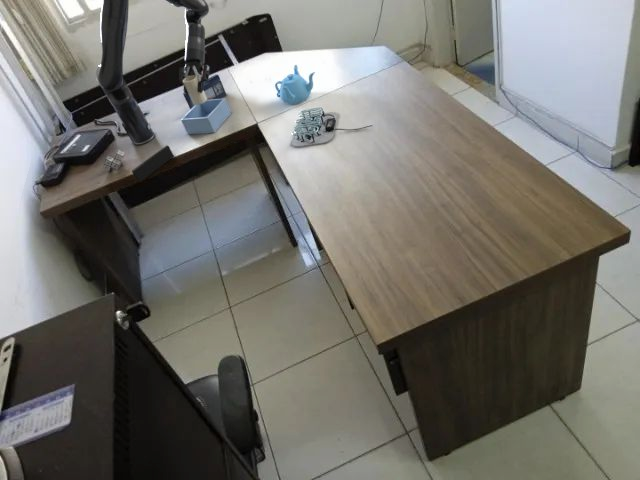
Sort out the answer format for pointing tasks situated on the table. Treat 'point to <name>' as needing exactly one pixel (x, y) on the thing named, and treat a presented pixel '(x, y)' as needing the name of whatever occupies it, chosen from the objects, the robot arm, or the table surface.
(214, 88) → the vhs cassette tape
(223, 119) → the basin
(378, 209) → the table surface
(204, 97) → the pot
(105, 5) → the robot arm
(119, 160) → the building blocks
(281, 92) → the teapot
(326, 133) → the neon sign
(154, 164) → the dark grey slab
